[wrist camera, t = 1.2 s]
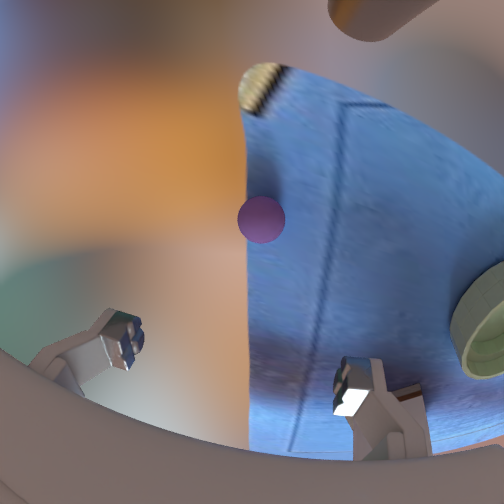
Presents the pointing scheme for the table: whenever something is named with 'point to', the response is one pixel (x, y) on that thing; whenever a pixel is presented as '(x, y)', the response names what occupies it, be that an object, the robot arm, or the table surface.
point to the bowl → (481, 326)
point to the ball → (261, 219)
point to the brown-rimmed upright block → (412, 403)
